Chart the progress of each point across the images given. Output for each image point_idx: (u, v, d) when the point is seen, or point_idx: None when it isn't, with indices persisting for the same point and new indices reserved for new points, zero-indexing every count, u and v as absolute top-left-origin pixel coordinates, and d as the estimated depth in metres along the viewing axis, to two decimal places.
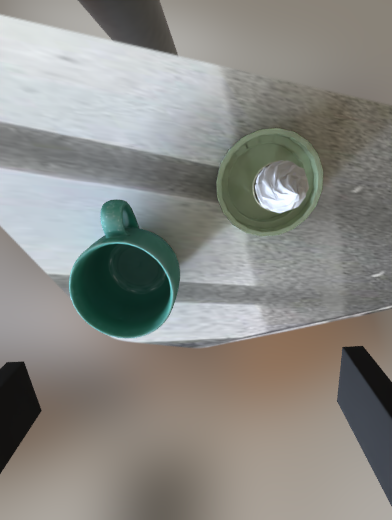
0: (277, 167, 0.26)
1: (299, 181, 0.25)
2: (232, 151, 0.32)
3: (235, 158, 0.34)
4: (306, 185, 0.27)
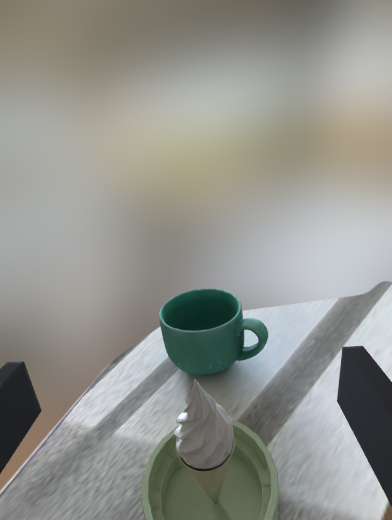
0: (226, 422, 0.23)
1: (201, 416, 0.22)
2: (266, 453, 0.27)
3: (257, 466, 0.28)
4: (189, 447, 0.22)
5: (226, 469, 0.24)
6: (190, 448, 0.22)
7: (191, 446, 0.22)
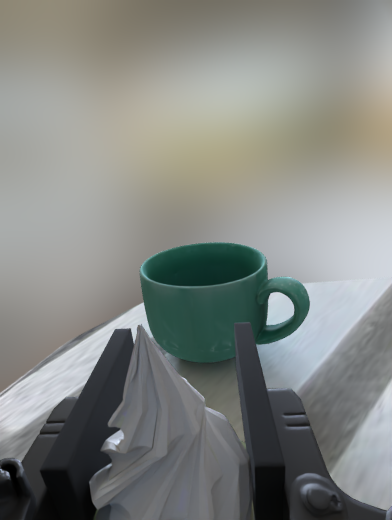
0: (234, 463, 0.08)
1: (155, 444, 0.07)
2: None
3: None
4: None
5: None
6: None
7: None
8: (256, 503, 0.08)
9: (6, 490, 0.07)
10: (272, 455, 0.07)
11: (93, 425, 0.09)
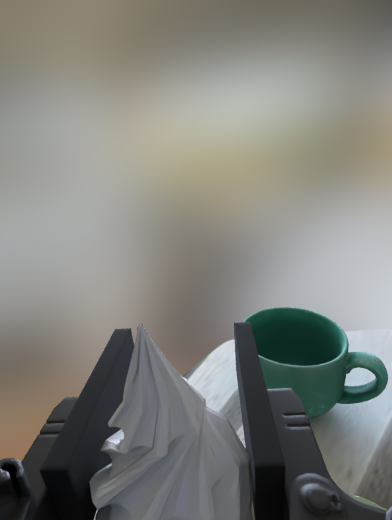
0: (234, 463, 0.08)
1: (155, 444, 0.07)
2: None
3: None
4: None
5: None
6: None
7: None
8: (256, 503, 0.08)
9: (6, 490, 0.07)
10: (272, 455, 0.07)
11: (93, 425, 0.09)
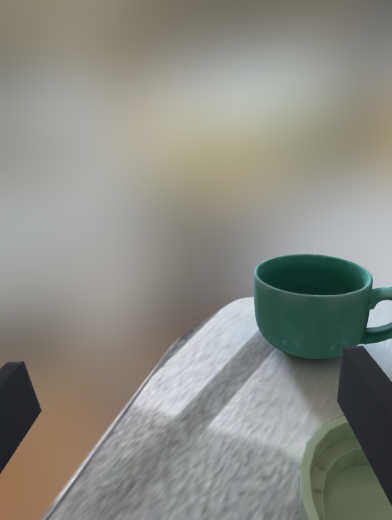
0: None
1: None
2: None
3: None
4: None
5: None
6: None
7: None
8: None
9: None
10: None
11: None
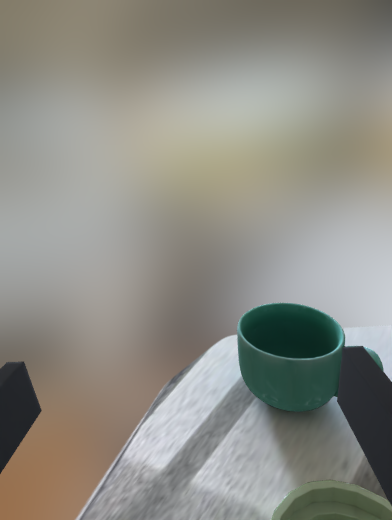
0: None
1: None
2: None
3: None
4: None
5: None
6: None
7: None
8: None
9: None
10: None
11: None
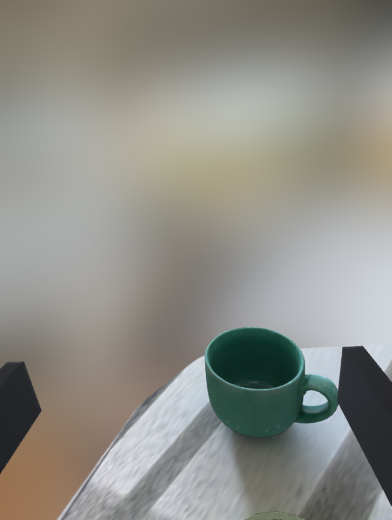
0: None
1: None
2: None
3: None
4: None
5: None
6: None
7: None
8: None
9: None
10: None
11: None
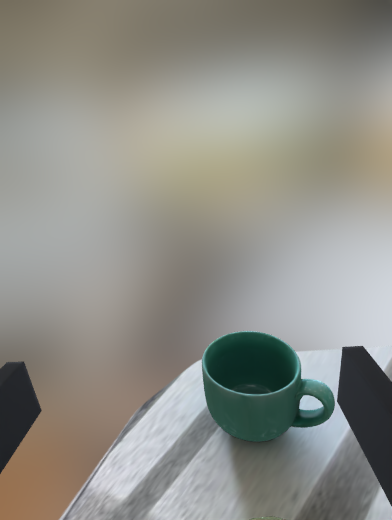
0: None
1: None
2: None
3: None
4: None
5: None
6: None
7: None
8: None
9: None
10: None
11: None
